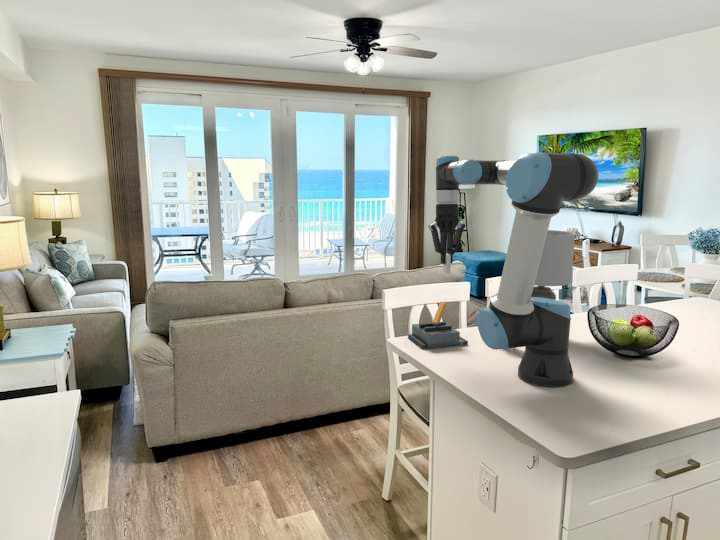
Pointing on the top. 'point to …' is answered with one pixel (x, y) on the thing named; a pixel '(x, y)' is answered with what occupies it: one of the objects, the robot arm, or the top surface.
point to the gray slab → (463, 342)
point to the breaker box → (436, 335)
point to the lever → (439, 314)
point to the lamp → (555, 263)
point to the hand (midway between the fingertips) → (446, 273)
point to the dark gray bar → (417, 341)
